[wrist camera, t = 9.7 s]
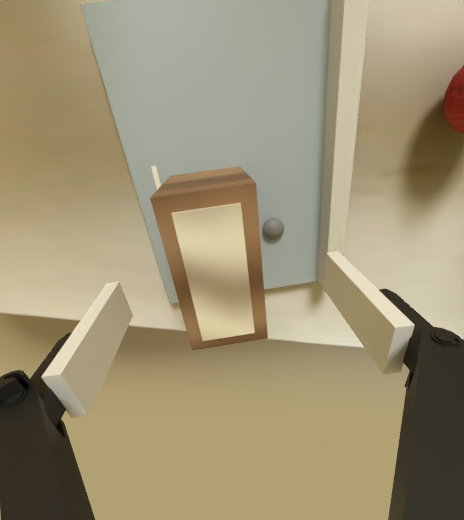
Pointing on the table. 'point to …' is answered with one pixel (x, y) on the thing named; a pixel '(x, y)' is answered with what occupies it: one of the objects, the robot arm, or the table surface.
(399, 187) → the table surface
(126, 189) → the table surface
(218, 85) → the wall panel
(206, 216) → the frame
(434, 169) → the table surface
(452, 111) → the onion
